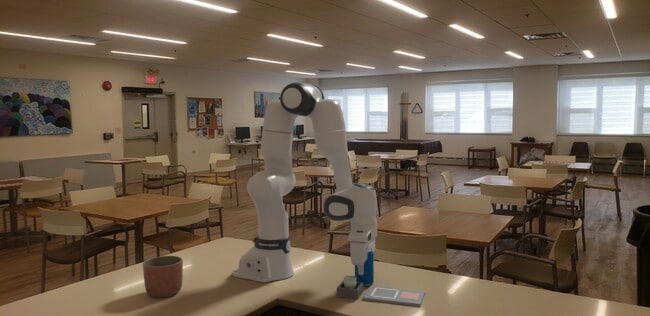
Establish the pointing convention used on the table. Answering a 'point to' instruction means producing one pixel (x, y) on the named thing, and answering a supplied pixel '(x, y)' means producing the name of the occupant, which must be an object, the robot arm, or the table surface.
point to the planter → (163, 275)
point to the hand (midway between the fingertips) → (364, 270)
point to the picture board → (394, 295)
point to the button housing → (350, 291)
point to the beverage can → (366, 270)
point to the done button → (350, 282)
